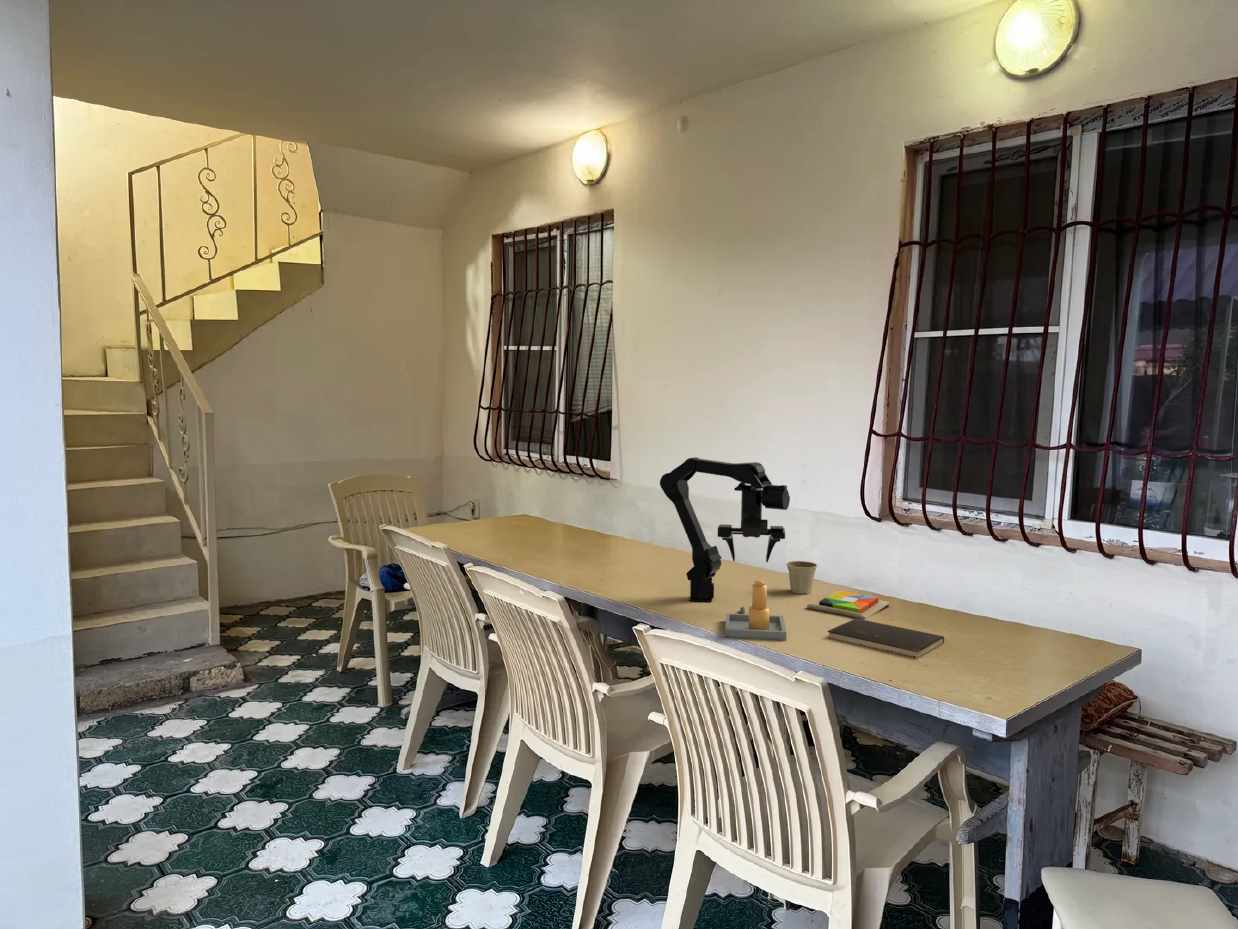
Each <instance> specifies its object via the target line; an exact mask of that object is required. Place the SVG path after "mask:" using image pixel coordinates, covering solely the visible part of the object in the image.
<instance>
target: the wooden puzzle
mask: <svg viewBox="0 0 1238 929" xmlns="http://www.w3.org/2000/svg"><path fill="white" fill-rule="evenodd" d="M890 606H891V603H890V602H889V601H886V600H880V599H879V597H876V596H871V595H866V594H860V593H856V592H855V593H854V592H849V591H844V590H837V591H835V592H834V591H832V592H830V593H829V594H827V595H825V596H824V597H822V598H820V599H818V600H817V601H815V602H814V603H809V604H807V605H806V608H807V609H808V610H810V609H811V610H815V611H819V612H820V611H821V612H826V613H830V614H835V615H841V616H847V617H850V618H854V619H856V618H857V619H862V620H868V619H869V618H871V617H873V616H874V615H876V614H877V613H878V612H880V611H881V610H882V609H884V608H886V607H890Z"/></svg>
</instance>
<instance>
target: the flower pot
mask: <svg viewBox="0 0 1238 929" xmlns="http://www.w3.org/2000/svg"><path fill="white" fill-rule="evenodd" d="M785 565H786V566H787V567H786V568H787V570H788V575H789V577H788V578H789V585H790V592H792V593H794V594H798V595H803V594H806V595H808V594H809V595H810V594H812V591H813V585H814V584H813V583H814V580H815V574H816V572H817V571H816V570H817V568H818V566H819V565H818V564H817V563H815V562H811V561H804V560H792V561H788V562H786V563H785Z"/></svg>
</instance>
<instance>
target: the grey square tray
mask: <svg viewBox="0 0 1238 929" xmlns="http://www.w3.org/2000/svg"><path fill="white" fill-rule="evenodd" d="M724 624H725V627H724V638H731V639H732V638H733V639H734V638H735V639H749V638H754V639H755V640H770V639H773V640H774V641H776V640H777V639H778V640H777V641H787V628H786V625H785V620H784V616H783V615H777V614H776V615H774V614H769V630H750V629H748V628H749V613H745V614H740V613H729V612H727V613H726V612H725V623H724ZM773 640H772V641H773Z"/></svg>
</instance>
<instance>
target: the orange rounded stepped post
mask: <svg viewBox="0 0 1238 929" xmlns="http://www.w3.org/2000/svg"><path fill="white" fill-rule="evenodd" d="M767 589H768V585H767V584H765V580H761V579H759V580H755V581H754V583H752V594H751V598H752V600H751V601H752V602H751V606H749V607H748V614H749V628H748V629H750V630H769V615H770V610H771V609H770V608H769V607H768V606H767V604H768V603H767V601H768V600H767V599H768V598H767V597H768V596H767V595H768V594H767V593H768V590H767Z"/></svg>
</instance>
